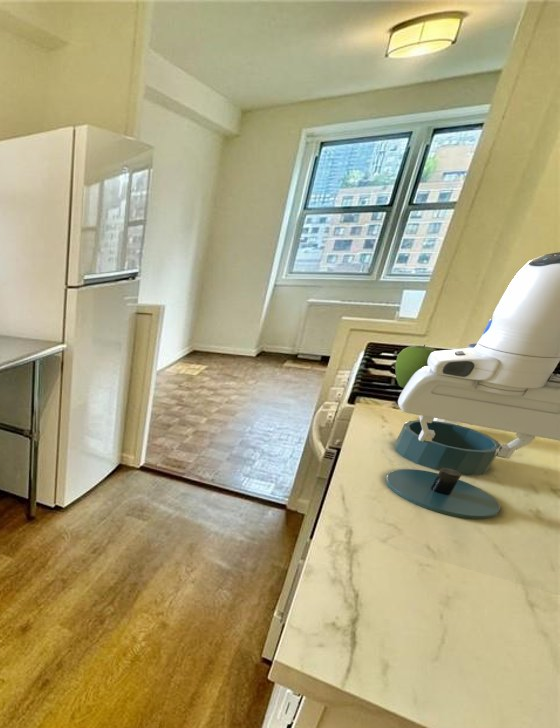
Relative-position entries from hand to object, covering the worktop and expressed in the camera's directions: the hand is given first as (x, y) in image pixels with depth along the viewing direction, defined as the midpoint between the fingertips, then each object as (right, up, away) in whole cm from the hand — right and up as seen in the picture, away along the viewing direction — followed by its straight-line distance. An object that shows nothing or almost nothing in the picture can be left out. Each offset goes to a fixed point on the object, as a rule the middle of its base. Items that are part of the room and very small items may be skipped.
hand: (461, 448), depth 79 cm
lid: (0, -8, +4) cm, 9 cm away
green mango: (+37, +17, +50) cm, 65 cm away
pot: (+12, -2, +16) cm, 20 cm away
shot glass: (+24, +5, +28) cm, 37 cm away
